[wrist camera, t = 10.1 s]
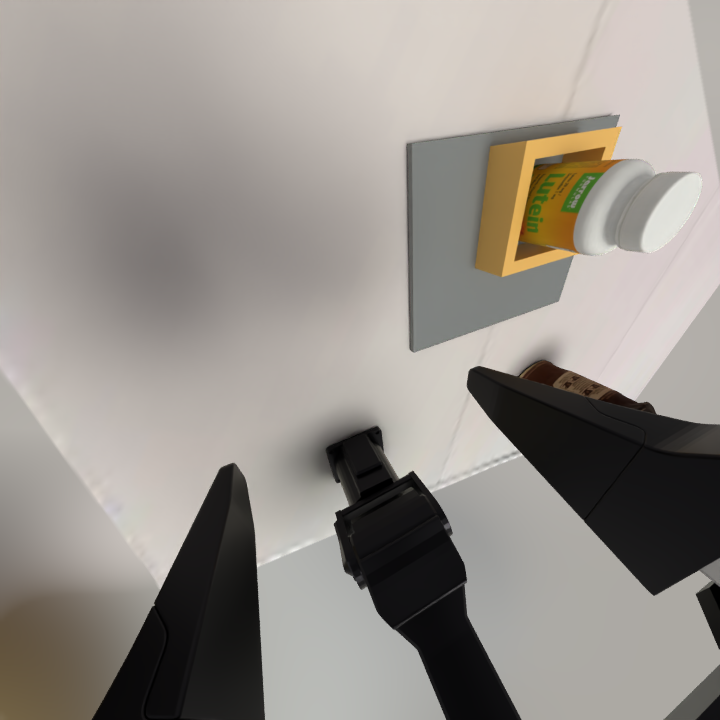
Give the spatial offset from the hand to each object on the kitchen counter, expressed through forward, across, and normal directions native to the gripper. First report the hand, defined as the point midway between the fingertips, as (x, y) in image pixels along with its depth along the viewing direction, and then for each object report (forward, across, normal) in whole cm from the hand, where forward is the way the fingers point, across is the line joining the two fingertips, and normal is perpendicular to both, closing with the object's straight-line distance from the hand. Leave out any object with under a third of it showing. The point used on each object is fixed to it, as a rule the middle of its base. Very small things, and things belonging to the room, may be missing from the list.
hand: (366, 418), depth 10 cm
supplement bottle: (+13, -20, -3) cm, 24 cm away
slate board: (+13, -19, 0) cm, 23 cm away
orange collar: (+12, -20, -3) cm, 24 cm away
